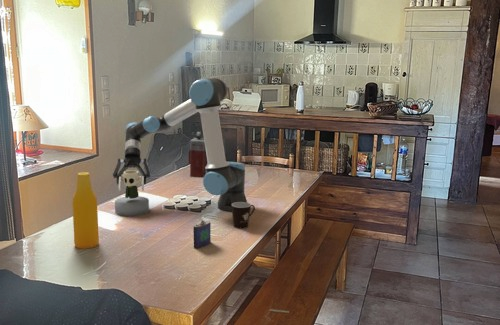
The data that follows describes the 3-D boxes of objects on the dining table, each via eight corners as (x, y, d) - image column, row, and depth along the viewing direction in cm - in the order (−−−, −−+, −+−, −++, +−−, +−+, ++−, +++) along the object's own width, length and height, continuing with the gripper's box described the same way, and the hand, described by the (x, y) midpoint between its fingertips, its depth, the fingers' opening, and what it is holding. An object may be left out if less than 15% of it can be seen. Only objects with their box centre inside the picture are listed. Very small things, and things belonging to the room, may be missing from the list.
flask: (207, 241, 199) (207, 216, 197) (212, 242, 197) (213, 217, 195) (191, 247, 192) (191, 222, 190) (197, 249, 190) (197, 223, 188)
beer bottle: (103, 241, 195) (100, 171, 189) (90, 250, 186) (86, 177, 180) (83, 239, 198) (80, 169, 191) (69, 247, 189) (65, 175, 183)
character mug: (118, 198, 232) (117, 172, 229) (125, 194, 239) (124, 169, 236) (138, 201, 229) (138, 174, 227) (145, 197, 236) (145, 171, 233)
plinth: (153, 213, 232) (153, 203, 231) (119, 217, 225) (119, 207, 224) (143, 204, 246) (143, 194, 245) (111, 208, 238) (111, 198, 237)
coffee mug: (233, 230, 213) (234, 208, 211) (229, 223, 221) (229, 202, 219) (259, 228, 216) (259, 206, 214) (253, 221, 224) (254, 201, 222)
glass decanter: (190, 173, 314) (190, 130, 308) (207, 174, 312) (207, 131, 306) (186, 176, 305) (186, 132, 299) (203, 177, 303) (204, 133, 297)
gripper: (156, 154, 247) (155, 193, 235) (110, 155, 243) (107, 193, 231) (155, 146, 240) (155, 185, 229) (108, 146, 237) (105, 186, 225)
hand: (131, 189), depth 230 cm, fingers closed on character mug, 10 cm apart
